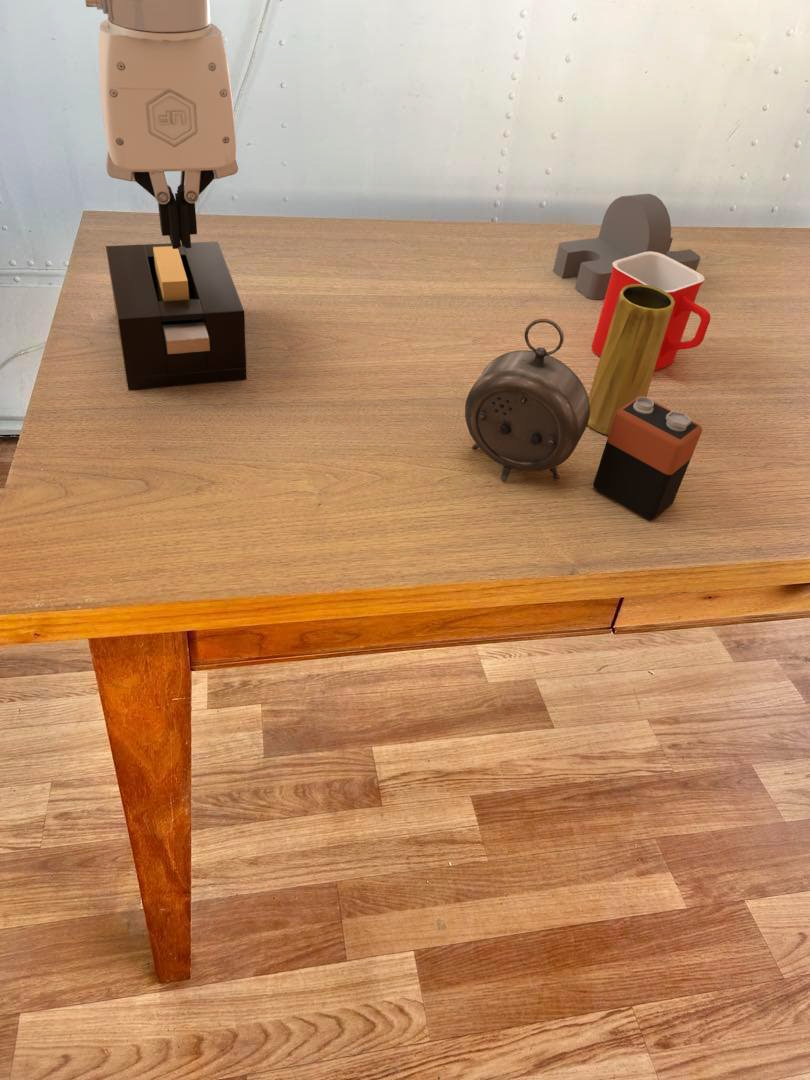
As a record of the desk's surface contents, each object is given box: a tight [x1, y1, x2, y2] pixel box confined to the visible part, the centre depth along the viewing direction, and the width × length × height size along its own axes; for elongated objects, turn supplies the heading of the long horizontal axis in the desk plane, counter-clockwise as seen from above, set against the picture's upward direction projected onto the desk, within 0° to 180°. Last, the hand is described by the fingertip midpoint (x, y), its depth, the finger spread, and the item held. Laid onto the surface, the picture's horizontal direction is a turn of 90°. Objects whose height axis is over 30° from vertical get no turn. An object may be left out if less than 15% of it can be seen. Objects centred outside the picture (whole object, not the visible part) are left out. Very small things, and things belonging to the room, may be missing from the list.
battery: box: [592, 396, 703, 521], centre depth 79 cm, size 4×7×10 cm, turn 47°
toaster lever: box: [163, 322, 210, 354], centre depth 83 cm, size 4×3×2 cm
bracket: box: [552, 193, 701, 301], centre depth 114 cm, size 10×18×11 cm, turn 117°
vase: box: [587, 284, 675, 436], centre depth 87 cm, size 6×6×14 cm
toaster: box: [105, 240, 247, 391], centre depth 91 cm, size 12×16×8 cm
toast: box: [153, 246, 189, 301], centre depth 90 cm, size 2×8×8 cm, turn 18°
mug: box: [591, 251, 711, 372], centre depth 97 cm, size 12×8×11 cm
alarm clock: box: [464, 318, 590, 483], centre depth 78 cm, size 11×5×16 cm, turn 65°
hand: (179, 241), depth 77 cm, fingers closed
